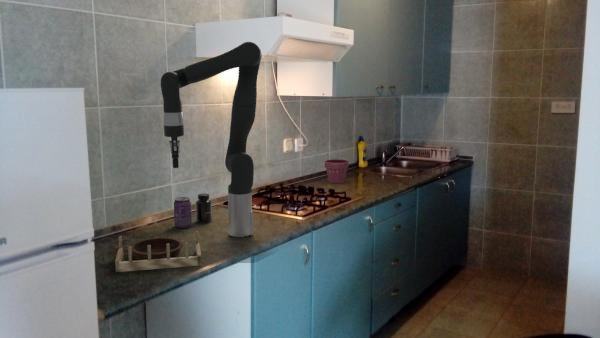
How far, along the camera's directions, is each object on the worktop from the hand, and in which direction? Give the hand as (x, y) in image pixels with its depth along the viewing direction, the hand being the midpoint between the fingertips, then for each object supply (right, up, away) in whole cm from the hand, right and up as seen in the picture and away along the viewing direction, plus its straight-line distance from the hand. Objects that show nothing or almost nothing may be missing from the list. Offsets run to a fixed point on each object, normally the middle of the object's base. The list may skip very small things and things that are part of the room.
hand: (175, 167), depth 209 cm
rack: (+1, -32, -27) cm, 42 cm away
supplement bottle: (+7, -23, +21) cm, 33 cm away
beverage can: (0, -25, +13) cm, 28 cm away
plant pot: (+71, -9, +106) cm, 127 cm away
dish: (-1, -32, -24) cm, 40 cm away
